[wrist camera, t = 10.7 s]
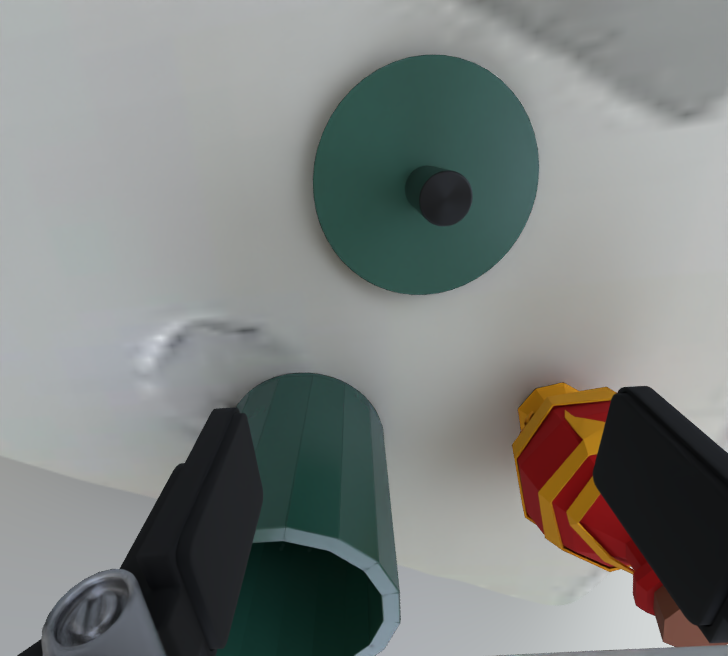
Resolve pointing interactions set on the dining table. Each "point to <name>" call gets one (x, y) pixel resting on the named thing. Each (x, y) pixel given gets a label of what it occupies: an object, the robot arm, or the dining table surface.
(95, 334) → the dining table surface
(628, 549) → the potion bottle
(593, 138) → the dining table surface
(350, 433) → the green tube
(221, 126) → the dining table surface
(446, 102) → the green disc with handle
